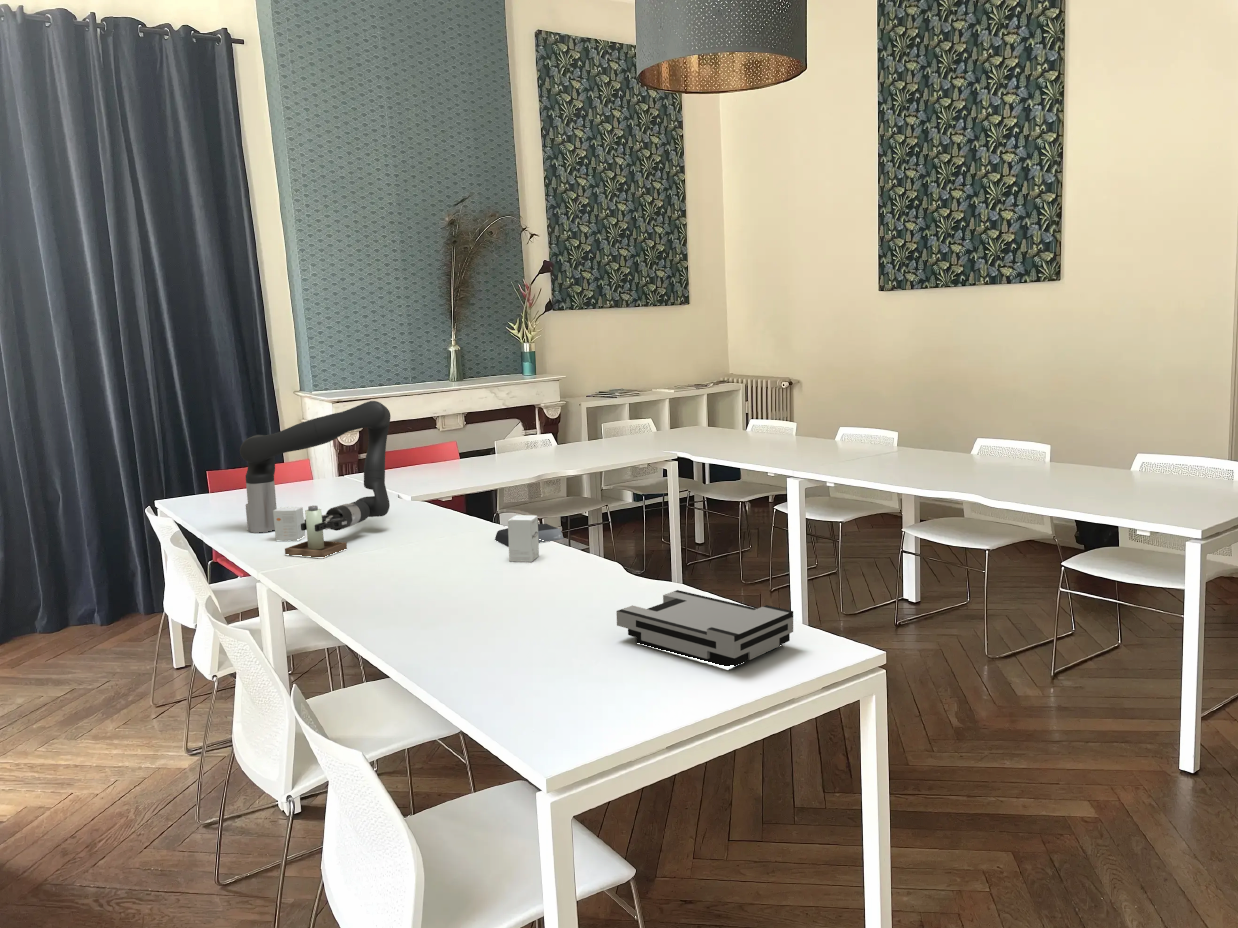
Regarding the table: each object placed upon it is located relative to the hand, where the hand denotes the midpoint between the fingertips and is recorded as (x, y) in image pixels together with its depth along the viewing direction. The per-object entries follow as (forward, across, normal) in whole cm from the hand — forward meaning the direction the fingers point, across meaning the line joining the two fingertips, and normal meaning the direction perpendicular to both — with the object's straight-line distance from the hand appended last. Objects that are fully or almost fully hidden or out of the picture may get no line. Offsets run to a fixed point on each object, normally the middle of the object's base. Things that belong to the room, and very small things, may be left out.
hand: (308, 527), depth 294 cm
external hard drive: (-37, +57, +9) cm, 68 cm away
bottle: (-3, 0, +7) cm, 7 cm away
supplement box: (-14, +67, +9) cm, 69 cm away
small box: (-16, -21, +9) cm, 28 cm away
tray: (-3, 0, +8) cm, 9 cm away
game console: (+42, +139, +9) cm, 145 cm away
